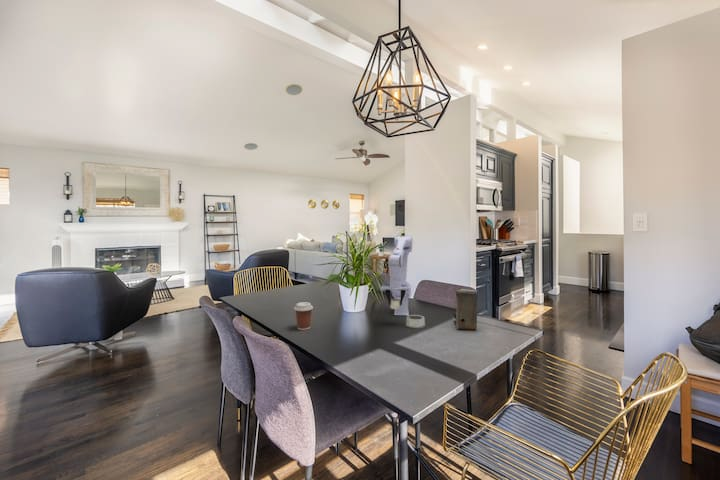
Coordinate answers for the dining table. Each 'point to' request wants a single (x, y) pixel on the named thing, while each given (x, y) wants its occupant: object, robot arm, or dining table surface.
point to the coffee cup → (303, 315)
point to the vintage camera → (466, 309)
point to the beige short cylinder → (395, 304)
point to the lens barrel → (415, 321)
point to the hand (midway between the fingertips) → (395, 304)
